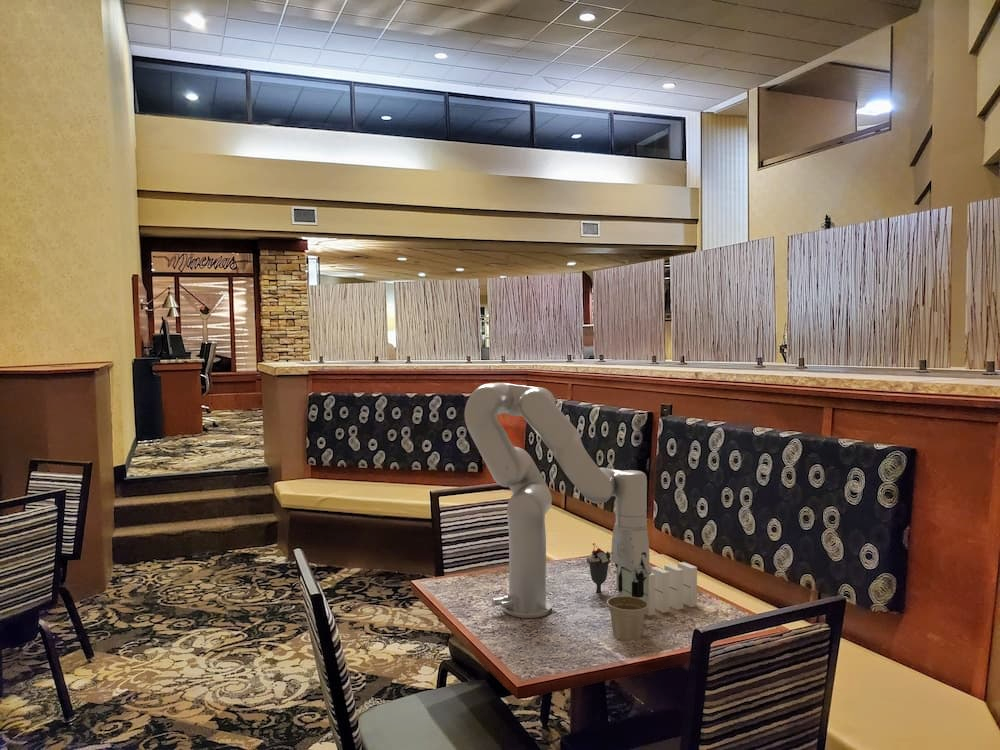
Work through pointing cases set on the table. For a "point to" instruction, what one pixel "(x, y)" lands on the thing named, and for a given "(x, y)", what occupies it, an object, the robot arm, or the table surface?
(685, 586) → the domino
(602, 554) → the sundae
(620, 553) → the robot arm
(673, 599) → the domino
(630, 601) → the flower pot
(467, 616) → the table surface
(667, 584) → the domino
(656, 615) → the domino board
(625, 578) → the pale green domino
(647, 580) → the domino
